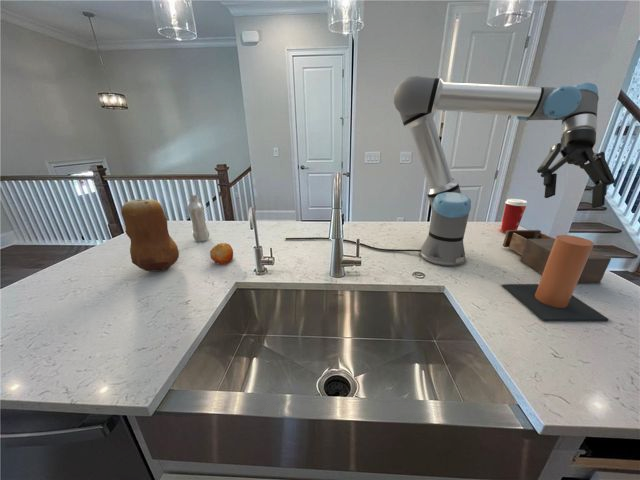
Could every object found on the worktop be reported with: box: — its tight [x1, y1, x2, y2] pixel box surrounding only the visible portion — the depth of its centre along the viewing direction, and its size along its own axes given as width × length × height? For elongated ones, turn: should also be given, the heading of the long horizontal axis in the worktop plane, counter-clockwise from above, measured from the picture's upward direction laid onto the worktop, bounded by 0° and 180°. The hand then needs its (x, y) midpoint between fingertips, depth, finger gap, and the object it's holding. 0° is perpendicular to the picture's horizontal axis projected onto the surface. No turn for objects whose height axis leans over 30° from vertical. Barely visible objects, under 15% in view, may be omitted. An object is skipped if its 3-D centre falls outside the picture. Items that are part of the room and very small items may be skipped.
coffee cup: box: [500, 198, 528, 234], centre depth 118 cm, size 8×8×15 cm
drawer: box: [502, 229, 555, 256], centre depth 98 cm, size 19×12×7 cm, turn 179°
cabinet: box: [519, 238, 612, 284], centre depth 86 cm, size 16×14×9 cm
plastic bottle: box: [186, 194, 210, 242], centre depth 112 cm, size 6×7×20 cm
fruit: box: [209, 242, 234, 265], centre depth 95 cm, size 8×8×8 cm
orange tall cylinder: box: [535, 234, 595, 308], centre depth 68 cm, size 7×7×18 cm
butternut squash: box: [120, 198, 180, 272], centre depth 87 cm, size 14×13×25 cm
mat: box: [501, 283, 609, 322], centre depth 72 cm, size 16×16×1 cm
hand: (573, 201), depth 74 cm, fingers open, 13 cm apart
